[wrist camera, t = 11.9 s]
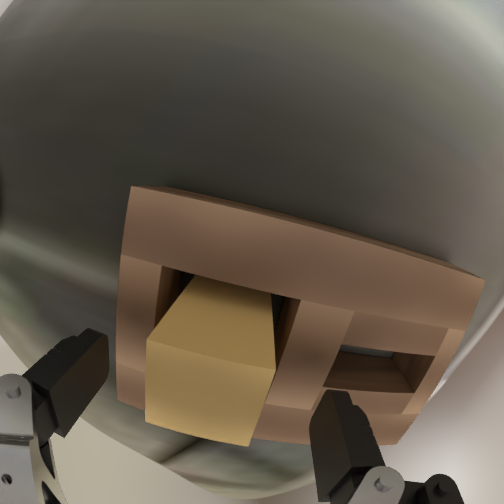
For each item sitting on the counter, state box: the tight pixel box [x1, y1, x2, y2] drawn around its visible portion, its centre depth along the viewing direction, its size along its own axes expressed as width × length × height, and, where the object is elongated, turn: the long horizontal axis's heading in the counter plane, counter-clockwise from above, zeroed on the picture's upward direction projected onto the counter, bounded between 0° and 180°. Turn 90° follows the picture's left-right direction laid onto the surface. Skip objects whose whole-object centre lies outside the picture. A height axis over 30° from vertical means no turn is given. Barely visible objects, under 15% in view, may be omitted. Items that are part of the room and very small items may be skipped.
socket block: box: [116, 186, 485, 445], centre depth 14 cm, size 12×18×4 cm, turn 76°
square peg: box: [145, 275, 276, 446], centre depth 12 cm, size 4×4×8 cm
